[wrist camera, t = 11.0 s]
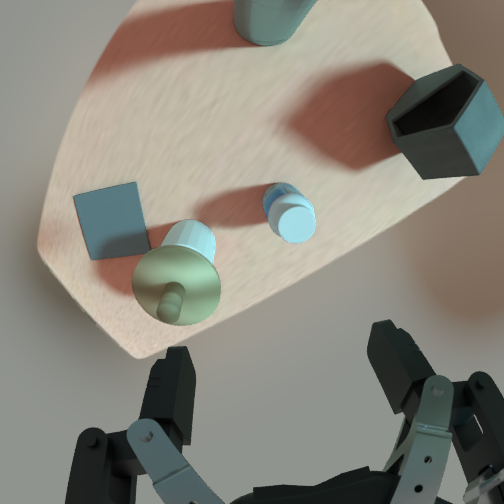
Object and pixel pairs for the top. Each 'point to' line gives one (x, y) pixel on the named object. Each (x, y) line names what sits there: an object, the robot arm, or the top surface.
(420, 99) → the planter
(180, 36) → the top surface
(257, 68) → the top surface
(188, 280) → the lid
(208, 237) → the mug
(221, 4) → the top surface
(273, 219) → the pill bottle
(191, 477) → the robot arm
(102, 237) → the mat
